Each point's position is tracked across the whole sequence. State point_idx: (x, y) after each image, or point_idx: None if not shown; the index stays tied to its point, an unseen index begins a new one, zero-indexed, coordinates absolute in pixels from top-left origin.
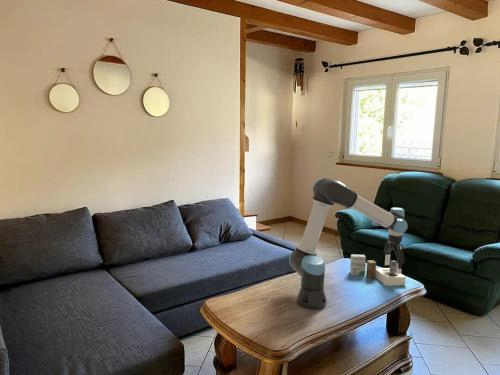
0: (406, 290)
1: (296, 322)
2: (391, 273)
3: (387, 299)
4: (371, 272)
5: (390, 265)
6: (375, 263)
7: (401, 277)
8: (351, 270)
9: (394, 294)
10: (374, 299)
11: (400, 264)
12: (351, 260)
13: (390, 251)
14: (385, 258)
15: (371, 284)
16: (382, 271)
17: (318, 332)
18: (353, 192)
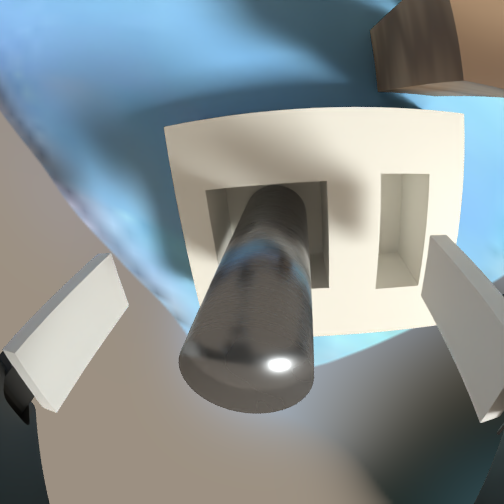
0: (131, 260)
1: None
2: (238, 228)
3: (8, 92)
4: (392, 38)
5: (251, 270)
6: (452, 65)
7: (201, 301)
8: None
9: (58, 149)
10: (10, 23)
11: (6, 360)
12: None
13: (482, 499)
14: (490, 294)
15: (220, 6)
16: (369, 158)
17: None
18: None
